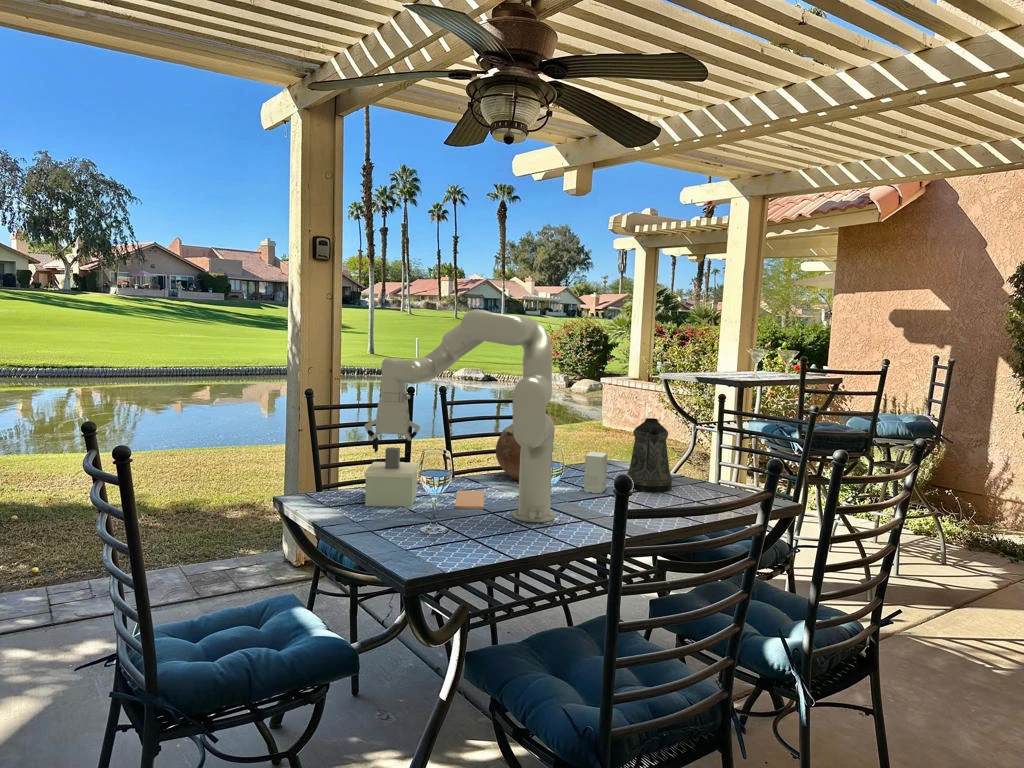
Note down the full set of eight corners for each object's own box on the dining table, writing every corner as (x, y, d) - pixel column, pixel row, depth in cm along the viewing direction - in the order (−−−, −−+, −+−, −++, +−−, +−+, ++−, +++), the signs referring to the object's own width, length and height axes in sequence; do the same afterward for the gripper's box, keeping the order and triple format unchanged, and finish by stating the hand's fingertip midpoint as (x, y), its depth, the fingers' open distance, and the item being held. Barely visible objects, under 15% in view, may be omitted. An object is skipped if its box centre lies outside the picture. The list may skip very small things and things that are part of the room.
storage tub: (411, 509, 207) (412, 477, 206) (365, 508, 207) (365, 476, 206) (416, 496, 223) (417, 466, 222) (373, 495, 222) (374, 465, 222)
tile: (483, 509, 210) (483, 506, 210) (425, 508, 209) (425, 505, 209) (483, 493, 230) (483, 490, 230) (430, 492, 229) (430, 490, 229)
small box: (588, 487, 243) (590, 451, 242) (606, 489, 241) (607, 452, 240) (583, 492, 236) (584, 455, 235) (601, 494, 234) (602, 456, 233)
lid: (412, 480, 206) (413, 454, 205) (364, 479, 205) (364, 453, 205) (418, 469, 223) (418, 444, 222) (373, 468, 222) (373, 443, 221)
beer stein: (654, 481, 257) (657, 415, 254) (686, 493, 239) (690, 422, 237) (616, 483, 250) (619, 416, 248) (646, 496, 232) (649, 423, 230)
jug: (484, 475, 257) (486, 397, 255) (529, 470, 270) (531, 395, 267) (517, 487, 239) (520, 403, 237) (564, 481, 252) (567, 400, 250)
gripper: (422, 397, 216) (420, 450, 218) (367, 395, 215) (365, 448, 217) (419, 400, 209) (418, 455, 210) (363, 397, 208) (361, 453, 209)
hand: (391, 451), depth 214 cm, fingers open, 9 cm apart
